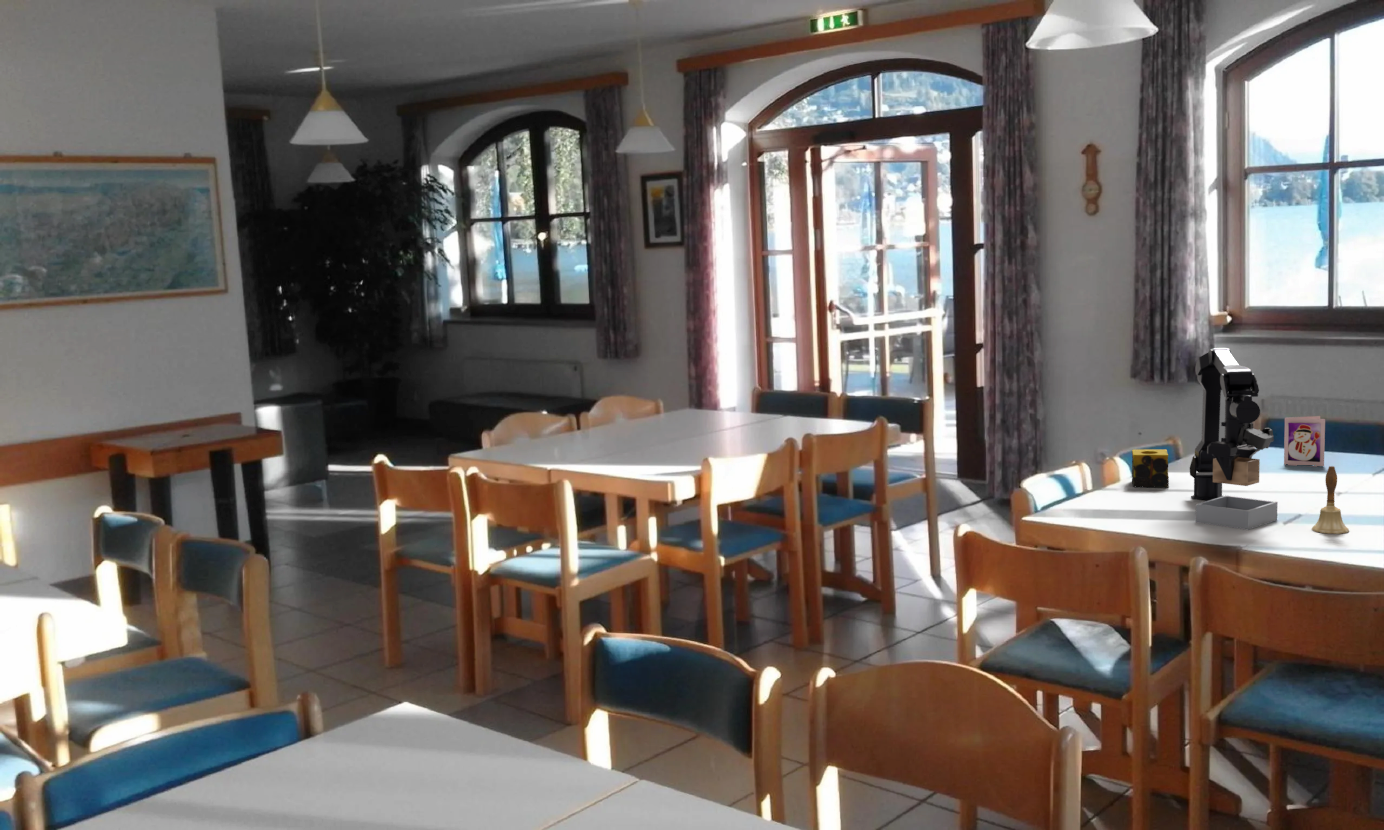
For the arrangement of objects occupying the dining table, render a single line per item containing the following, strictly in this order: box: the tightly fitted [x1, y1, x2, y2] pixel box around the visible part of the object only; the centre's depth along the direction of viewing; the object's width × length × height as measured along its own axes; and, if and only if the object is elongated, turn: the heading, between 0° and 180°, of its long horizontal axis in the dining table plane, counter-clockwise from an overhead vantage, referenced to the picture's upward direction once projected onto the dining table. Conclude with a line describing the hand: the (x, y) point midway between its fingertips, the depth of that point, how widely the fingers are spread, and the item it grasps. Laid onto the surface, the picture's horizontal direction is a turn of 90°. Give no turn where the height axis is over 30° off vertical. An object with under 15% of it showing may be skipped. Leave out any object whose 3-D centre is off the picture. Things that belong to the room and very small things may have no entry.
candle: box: [1131, 448, 1170, 489], centre depth 386 cm, size 10×10×10 cm
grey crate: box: [1195, 494, 1278, 531], centre depth 334 cm, size 14×15×5 cm
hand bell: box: [1311, 465, 1350, 535], centre depth 319 cm, size 8×8×16 cm
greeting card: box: [1283, 415, 1326, 467], centre depth 408 cm, size 11×7×15 cm, turn 58°
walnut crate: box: [1213, 457, 1261, 487], centre depth 333 cm, size 9×6×6 cm
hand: (1236, 478), depth 333 cm, fingers closed on walnut crate, 6 cm apart
